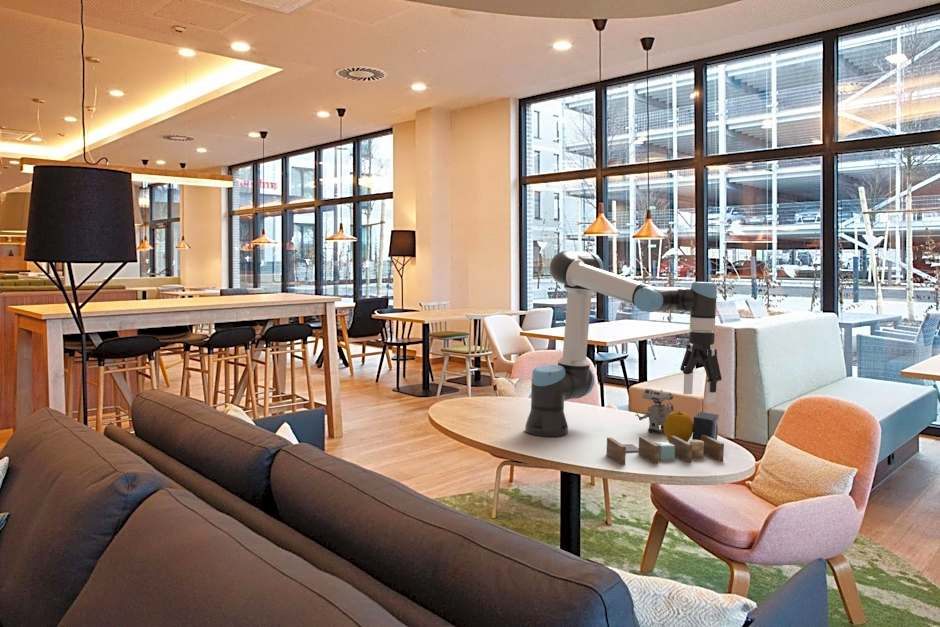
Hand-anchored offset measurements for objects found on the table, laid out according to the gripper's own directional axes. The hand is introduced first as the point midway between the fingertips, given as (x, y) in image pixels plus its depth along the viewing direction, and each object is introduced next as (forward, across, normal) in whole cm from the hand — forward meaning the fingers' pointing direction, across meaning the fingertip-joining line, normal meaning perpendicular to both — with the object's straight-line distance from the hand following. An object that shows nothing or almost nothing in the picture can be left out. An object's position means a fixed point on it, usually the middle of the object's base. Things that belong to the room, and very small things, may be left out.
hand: (698, 398), depth 216 cm
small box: (+19, +12, -10) cm, 25 cm away
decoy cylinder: (+19, 0, 0) cm, 19 cm away
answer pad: (+19, +11, +19) cm, 29 cm away
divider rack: (+19, 0, +11) cm, 22 cm away
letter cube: (+19, 0, +11) cm, 22 cm away
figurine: (+19, +34, -3) cm, 39 cm away
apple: (+19, +14, -1) cm, 24 cm away
